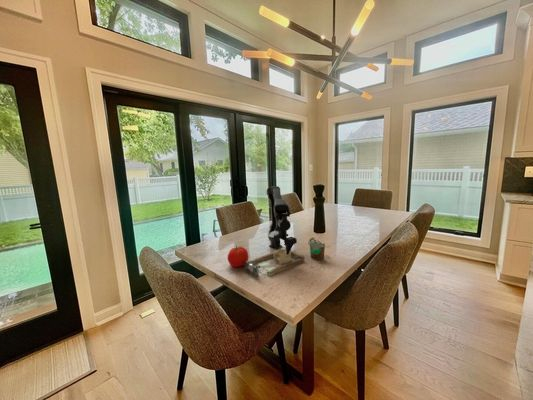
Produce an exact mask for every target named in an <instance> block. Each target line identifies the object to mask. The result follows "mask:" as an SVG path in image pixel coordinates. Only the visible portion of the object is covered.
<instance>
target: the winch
mask: <svg viewBox="0 0 533 400" xmlns="http://www.w3.org/2000/svg"><path fill="white" fill-rule="evenodd" d="M260 269H261V266H259V265H258V264H256V265H255V264H252V263H250V260H249V259H248V260H247V261H245V265H244V270H245V271H249V272H251V273H253V276H254V277H255V278H257V277H258V276H259V271H258V270H260Z"/></svg>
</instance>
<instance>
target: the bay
mask: <svg viewBox="0 0 533 400" xmlns="http://www.w3.org/2000/svg"><path fill="white" fill-rule="evenodd" d="M282 248H283V247H280V249H282ZM272 258H274V254H273V252H271V253H268V254H265V255H262V256H258V257H256V258H253V259H250V260H249V262H250V263H252V264H253V265H255V264H256V265H258V266H260V268H263V269H264V270H266V272H264V271H262V270H260V269H259V270H258V272H259V273H262V274H263V275H264V276H265V275H267V276H268V277H271V276H273V275H276V274H278V273H280V272H283V271H285V270H288V269H290V268H293V267H294V266H297V265H300V264H302V263H304V262H305V256H304V255H301V254H299V253H297V252H295V251H292V250H291V259H292V258H293V259H294V260H291V261H289V262H286V263H284V264H281V265H280V266H278V267H277V266H276V267H275V266H274V265H271V264H270V263H268V262H266V260H269V259H272Z"/></svg>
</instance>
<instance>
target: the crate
mask: <svg viewBox="0 0 533 400" xmlns="http://www.w3.org/2000/svg"><path fill="white" fill-rule="evenodd" d="M281 248H282V249H281ZM281 248H278V250H276V249H275V250H274V251H273V252H272V253H273V254H274V257H273V262H274V263H277V264H278V265H280V266H282V265H284V264H287V263H289V262H292V257H291V251H292V249H291V250H290V252H289V254H288V255H287V253H286V247H281Z"/></svg>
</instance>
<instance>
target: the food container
mask: <svg viewBox="0 0 533 400" xmlns="http://www.w3.org/2000/svg"><path fill="white" fill-rule="evenodd" d="M307 244H308V245H309V251H310V252H309V253H310V258H311V259H314V260H316V261H317V260H318V261H323V260H325V249H326V243H325V242H324V243H322V242H321V241H320V240H317V239H315V238H314V237H310V238H309V240H308V243H307Z"/></svg>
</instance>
